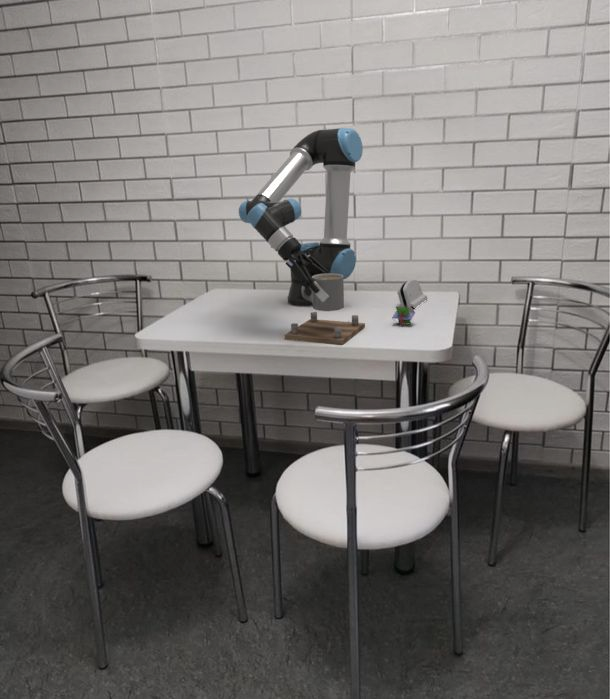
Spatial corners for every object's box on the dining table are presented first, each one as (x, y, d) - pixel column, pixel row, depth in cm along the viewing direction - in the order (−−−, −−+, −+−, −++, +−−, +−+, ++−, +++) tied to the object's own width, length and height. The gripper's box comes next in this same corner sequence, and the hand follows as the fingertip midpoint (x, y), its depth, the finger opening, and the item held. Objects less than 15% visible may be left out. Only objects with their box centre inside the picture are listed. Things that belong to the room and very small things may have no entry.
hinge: (414, 309, 222) (406, 284, 220) (403, 313, 224) (394, 287, 223) (428, 299, 236) (420, 275, 234) (417, 302, 238) (409, 278, 237)
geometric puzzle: (407, 323, 197) (413, 301, 199) (388, 321, 200) (393, 299, 202) (413, 331, 203) (418, 309, 205) (394, 329, 206) (399, 308, 208)
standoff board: (310, 323, 210) (310, 310, 209) (364, 327, 202) (364, 314, 201) (284, 339, 193) (283, 325, 192) (342, 344, 185) (342, 330, 184)
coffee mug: (347, 304, 197) (347, 273, 194) (339, 311, 188) (338, 280, 185) (308, 302, 201) (307, 272, 198) (298, 309, 192) (297, 278, 189)
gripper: (293, 247, 205) (337, 296, 203) (262, 258, 186) (310, 311, 185) (307, 232, 201) (352, 281, 200) (276, 241, 183) (326, 295, 181)
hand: (332, 295), depth 192 cm, fingers closed on coffee mug, 9 cm apart
